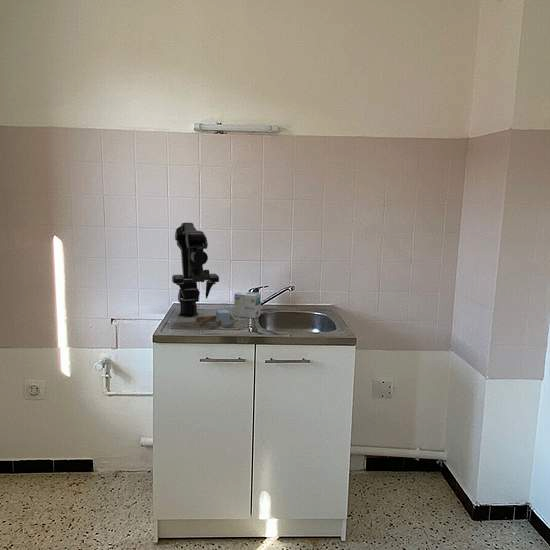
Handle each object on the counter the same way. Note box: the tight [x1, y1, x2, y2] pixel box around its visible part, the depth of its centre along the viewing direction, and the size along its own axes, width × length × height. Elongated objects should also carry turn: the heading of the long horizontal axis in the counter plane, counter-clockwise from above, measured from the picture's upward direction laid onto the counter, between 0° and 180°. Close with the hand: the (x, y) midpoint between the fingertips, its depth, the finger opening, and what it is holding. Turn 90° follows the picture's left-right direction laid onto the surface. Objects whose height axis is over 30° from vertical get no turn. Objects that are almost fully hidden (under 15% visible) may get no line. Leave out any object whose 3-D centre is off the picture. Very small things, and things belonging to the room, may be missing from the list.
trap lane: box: [195, 314, 238, 330], centre depth 206 cm, size 16×14×2 cm
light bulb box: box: [233, 290, 262, 319], centre depth 220 cm, size 11×7×11 cm, turn 71°
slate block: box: [215, 309, 231, 325], centre depth 208 cm, size 5×5×5 cm
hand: (195, 298), depth 203 cm, fingers open, 9 cm apart
